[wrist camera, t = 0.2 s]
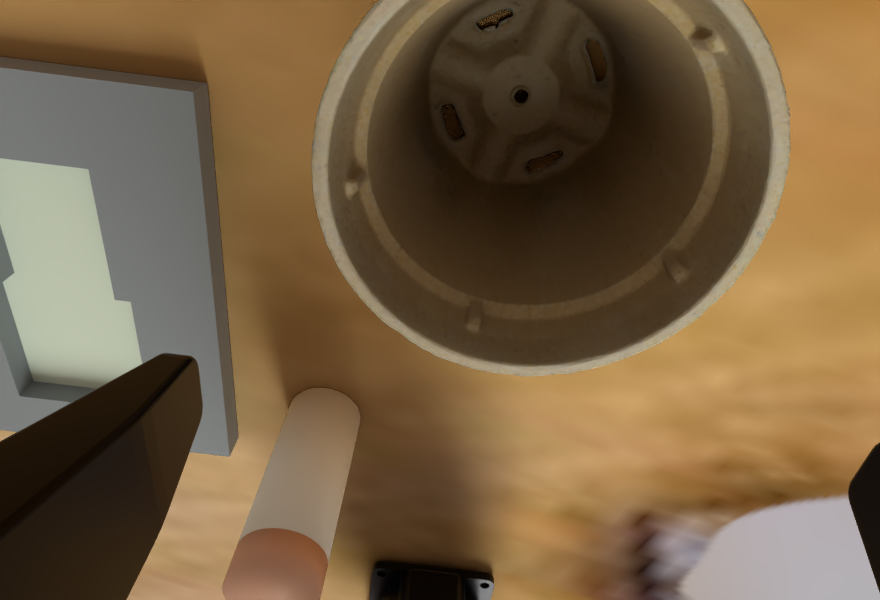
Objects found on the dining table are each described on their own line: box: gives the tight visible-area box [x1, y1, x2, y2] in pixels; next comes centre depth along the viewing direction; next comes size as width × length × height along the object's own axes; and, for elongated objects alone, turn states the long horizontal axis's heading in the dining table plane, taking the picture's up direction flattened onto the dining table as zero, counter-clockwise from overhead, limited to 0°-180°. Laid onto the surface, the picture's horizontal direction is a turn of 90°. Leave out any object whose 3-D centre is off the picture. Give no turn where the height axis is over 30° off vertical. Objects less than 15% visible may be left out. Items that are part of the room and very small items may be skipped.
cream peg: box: [222, 388, 361, 600], centre depth 24 cm, size 3×3×9 cm
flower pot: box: [311, 0, 790, 376], centre depth 16 cm, size 9×9×9 cm
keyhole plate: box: [0, 57, 238, 457], centre depth 24 cm, size 16×12×1 cm
